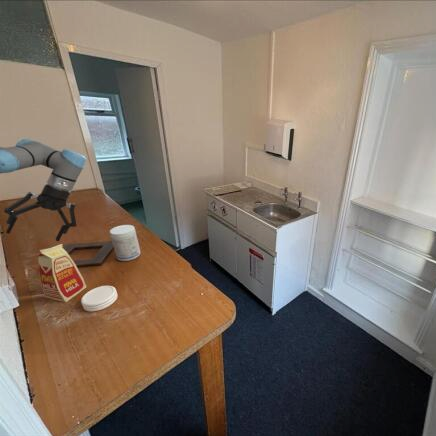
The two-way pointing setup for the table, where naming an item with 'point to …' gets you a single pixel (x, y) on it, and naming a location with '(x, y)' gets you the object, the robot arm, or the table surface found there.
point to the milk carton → (59, 274)
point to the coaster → (99, 298)
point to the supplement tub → (125, 242)
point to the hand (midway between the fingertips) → (33, 236)
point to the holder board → (101, 254)
